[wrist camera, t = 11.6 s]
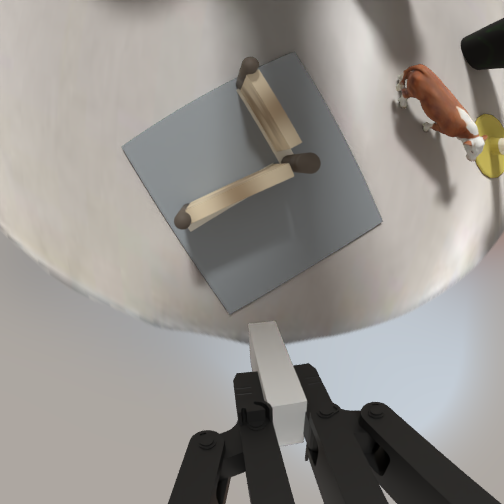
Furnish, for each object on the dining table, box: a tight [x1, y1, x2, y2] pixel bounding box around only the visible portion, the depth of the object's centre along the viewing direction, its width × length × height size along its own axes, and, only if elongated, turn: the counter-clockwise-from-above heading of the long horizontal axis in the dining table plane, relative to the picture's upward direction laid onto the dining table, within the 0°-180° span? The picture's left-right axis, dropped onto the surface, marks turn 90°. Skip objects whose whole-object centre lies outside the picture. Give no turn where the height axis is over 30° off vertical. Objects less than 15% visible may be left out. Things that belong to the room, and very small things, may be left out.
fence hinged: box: [174, 163, 294, 230], centre depth 28 cm, size 11×1×7 cm, turn 114°
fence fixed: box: [236, 57, 321, 174], centre depth 27 cm, size 11×2×7 cm, turn 30°
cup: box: [461, 18, 504, 70], centre depth 25 cm, size 8×8×12 cm
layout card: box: [122, 52, 383, 314], centre depth 32 cm, size 22×21×1 cm
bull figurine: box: [396, 64, 488, 162], centre depth 29 cm, size 4×13×8 cm, turn 48°
